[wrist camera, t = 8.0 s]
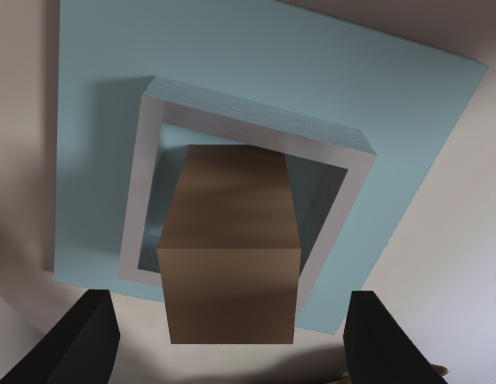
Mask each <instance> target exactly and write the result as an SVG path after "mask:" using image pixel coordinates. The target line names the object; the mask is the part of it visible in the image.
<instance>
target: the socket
mask: <svg viewBox="0 0 496 384" xmlns="http://www.w3.org/2000/svg"><path fill="white" fill-rule="evenodd" d="M169 124H170V125H174V126H178V127H182V128H186V129H190V130H194V131H198V132H202V133H206V134H210V135H214V136H218V137H222V138H226V139H230V140H234V141H238V142H242V143H246V144H250V145H254V146H258V147H262V148H266V149H270V150H274V151H278V152H282V153H286V154H290V155H294V156H298V157H302V158H306V159H310V160H314V161H318V162H322V163H326V164H327V165H326V167H325V169H324V172H323V174H322V176H321V179H320V181H319V184H318V186H317V188H316V191H315V193H314V196H313V198H312V200H311V203H310V205H309V208H308V210H307V212H306V215H305V217H304V219H303V222H302V224H301V227H300V229H299V231H298V233H299V239H300V245H301V258H300V269H299V280H298V292H297V303H296V313H298V314H301V312H302V310H303V308H304V306H305V304H306V302H307V299H308V297H309V295H310V293H311V291H312V289H313V287H314V285H315V283H316V281H317V279H318V277H319V275H320V273H321V271H322V269H323V267H324V265H325V263H326V260H327V258H328V256H329V254H330V252H331V250H332V248H333V246H334V244H335V242H336V240H337V238H338V236H339V234H340V232H341V230H342V228H343V226H344V224H345V221H346V219H347V217H348V215H349V213H350V211H351V209H352V207H353V205H354V203H355V201H356V199H357V197H358V195H359V193H360V191H361V189H362V187H363V185H364V183H365V180H366V178H367V176H368V174H369V172H370V170H371V168H372V166H373V164H374V162H375V160H376V158H377V156H378V155H377V154H376V152H375V151H374V149H373V148H372V146H371V144H370V143H369V141H368V140H367V138H366V137H365V135H364V134H363V132H362V130H361V129H357V128H353V127H349V126H346V125H342V124H338V123H334V122H331V121H327V120H323V119H319V118H315V117H312V116H308V115H304V114H300V113H297V112H293V111H289V110H285V109H282V108H278V107H274V106H270V105H267V104H263V103H259V102H255V101H251V100H248V99H244V98H240V97H236V96H233V95H229V94H225V93H221V92H218V91H214V90H210V89H206V88H203V87H199V86H195V85H191V84H187V83H184V82H180V81H176V80H172V79H169V78H165V77H161V76H156V77H155V78H154V79H153V81H152V82H151V83H150V85H149V86H148V87H147V89H146V90H145V91H144V93H143V94H142V97H141V104H140V112H139V119H138V127H137V134H136V142H135V149H134V156H133V164H132V171H131V179H130V186H129V194H128V201H127V209H126V216H125V223H124V231H123V238H122V246H121V253H120V261H119V268H118V275H117V279H122V280H127V281H132V282H138V283H143V284H148V285H153V286H158V287H162V281H161V274H160V268H159V261H158V255H157V246H158V243H159V239H160V236H156V235H151V234H150V229H151V224H152V218H153V213H154V207H155V201H156V196H157V190H158V184H159V179H160V173H161V168H162V162H163V156H164V151H165V145H166V139H167V134H168V128H169Z"/></svg>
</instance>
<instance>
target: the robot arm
mask: <svg viewBox="0 0 496 384" xmlns="http://www.w3.org/2000/svg"><path fill="white" fill-rule="evenodd" d="M119 340H120V332H119V328H118V324H117V320H116V315H115V311H114V307H113V303H112V299H111V295H110V291H109V289H88V290H87V291H86V292H85V293H84V294H83V296H82V297H81V298H80V299H79V300H78V301H77V302H76V303H75V304H74V305H73V306H72V307H71V309H70V310H69V311H68V312H67V313H66V314H65V315H64V316H63V317H62V318H61V319H60V321H59V322H58V323H57V324H56V325H55V326H54V327H53V328H52V329H51V330H50V331H49V332H48V333H47V334H46V335H45V336H44V338H43V339H42V340H41V341H40V342H39V343H38V344H37V345H36V346H35V347H34V348H33V349H32V350H31V351H30V352H29V353H28V354H27V355H26V356H25V357H24V358H23V359H22V360H21V361H20V362H19V363H18V364H17V365H15V366H14V367H13V368H12V369H11V371H9V372H8V373H7V374H6V375H5V376H4V377H3V378H2V379H1V380H0V384H108V381H109V378H110V375H111V373H112V370H113V366H114V362H115V358H116V353H117V349H118V344H119ZM343 340H344V347H345V353H346V359H347V365H348V370H349V374H350V378H351V382H352V384H448V383H447V382H446V381H445V380H444V379H443V377H442V376H441V375H440V374H439V373H438V372H437V371H436V370H435V369H434V367H433V366H432V365H431V364H430V363H429V362H428V361H427V359H426V358H425V357H424V356H423V355H422V353H421V352H420V351H419V350H418V349H417V347H416V346H415V345H414V344H413V343H412V341H411V340H410V339H409V338H408V336H407V335H406V334H405V333H404V331H403V330H402V329H401V327H400V326H399V325H398V324H397V322H396V321H395V320H394V318H393V317H392V316H391V314H390V313H389V312H388V310H387V309H386V308H385V306H384V305H383V304H382V302H381V301H380V299H379V298H378V297H377V295H376V294H375V293H374V292H373V291H352V292H351V298H350V303H349V308H348V313H347V318H346V324H345V329H344V334H343Z"/></svg>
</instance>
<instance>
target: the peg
mask: <svg viewBox="0 0 496 384" xmlns="http://www.w3.org/2000/svg"><path fill="white" fill-rule="evenodd" d="M157 255H158V261H159V268H160V274H161V281H162V288H163V294H164V301H165V307H166V314H167V320H168V327H169V333H170V340H171V344H293V337H294V325H295V314H296V303H297V292H298V280H299V269H300V258H301V245H300V239H299V233H298V228H297V222H296V217H295V211H294V205H293V200H292V194H291V189H290V183H289V177H288V172H287V166H286V161H285V155H284V153H282V152H278V151H274V150H270V149H266V148H262V147H258V146H254V145H250V144H189V147H188V150H187V153H186V156H185V160H184V163H183V166H182V169H181V172H180V176H179V179H178V182H177V185H176V188H175V192H174V195H173V198H172V201H171V204H170V208H169V211H168V214H167V217H166V220H165V223H164V227H163V230H162V233H161V236H160V239H159V243H158V246H157Z"/></svg>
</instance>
